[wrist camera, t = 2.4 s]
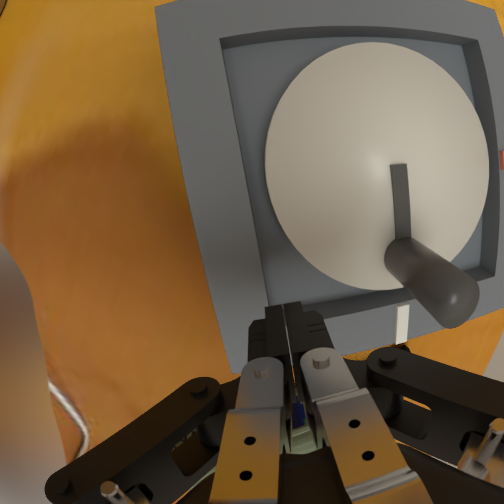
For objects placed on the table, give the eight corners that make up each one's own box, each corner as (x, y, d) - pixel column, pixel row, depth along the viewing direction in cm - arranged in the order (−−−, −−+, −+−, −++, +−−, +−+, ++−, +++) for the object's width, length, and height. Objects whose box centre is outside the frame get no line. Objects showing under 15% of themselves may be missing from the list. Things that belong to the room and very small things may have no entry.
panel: (171, 30, 16) (152, 4, 12) (465, 22, 15) (497, 8, 11) (234, 339, 23) (232, 377, 19) (487, 283, 22) (516, 305, 18)
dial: (243, 60, 15) (237, 0, 8) (456, 56, 14) (535, 33, 7) (284, 297, 19) (302, 381, 12) (473, 257, 18) (543, 304, 11)
